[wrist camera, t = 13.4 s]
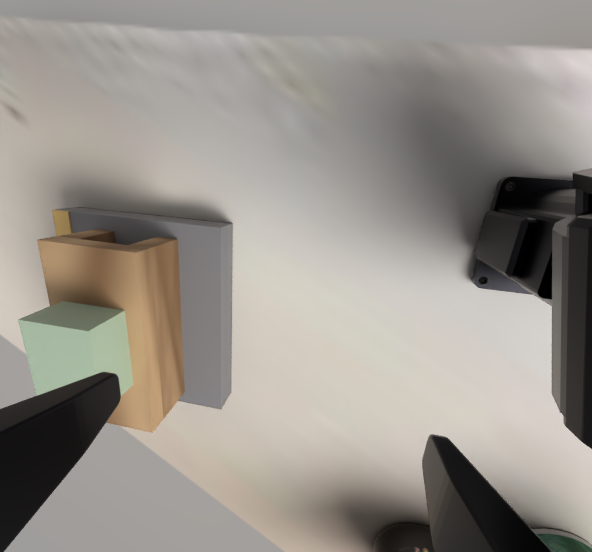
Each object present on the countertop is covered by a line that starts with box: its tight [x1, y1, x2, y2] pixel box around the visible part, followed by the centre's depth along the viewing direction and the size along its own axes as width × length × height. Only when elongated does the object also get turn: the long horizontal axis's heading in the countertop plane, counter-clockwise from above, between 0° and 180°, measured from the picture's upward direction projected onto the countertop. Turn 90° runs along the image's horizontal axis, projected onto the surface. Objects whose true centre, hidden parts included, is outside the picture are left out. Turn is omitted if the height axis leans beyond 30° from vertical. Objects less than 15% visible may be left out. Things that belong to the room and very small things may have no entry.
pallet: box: [37, 229, 185, 433], centre depth 20 cm, size 6×12×4 cm, turn 175°
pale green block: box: [18, 301, 134, 396], centre depth 17 cm, size 4×5×2 cm
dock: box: [52, 207, 233, 409], centre depth 23 cm, size 12×14×2 cm
